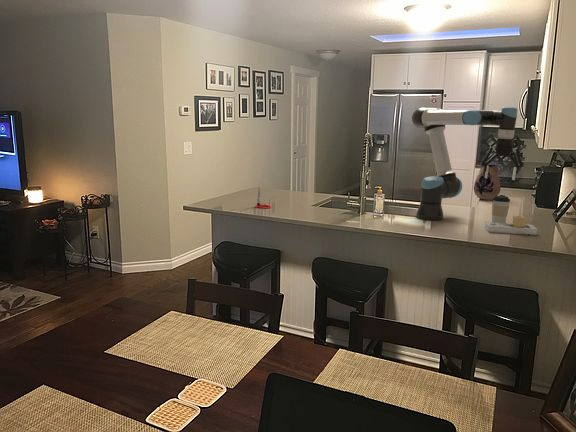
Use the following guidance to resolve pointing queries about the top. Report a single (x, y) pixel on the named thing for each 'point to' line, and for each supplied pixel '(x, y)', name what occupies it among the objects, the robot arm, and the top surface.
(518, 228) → the grey tray
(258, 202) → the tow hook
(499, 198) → the coffee cup
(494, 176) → the ceramic pitcher
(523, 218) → the yellow rectangular block
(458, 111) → the robot arm
